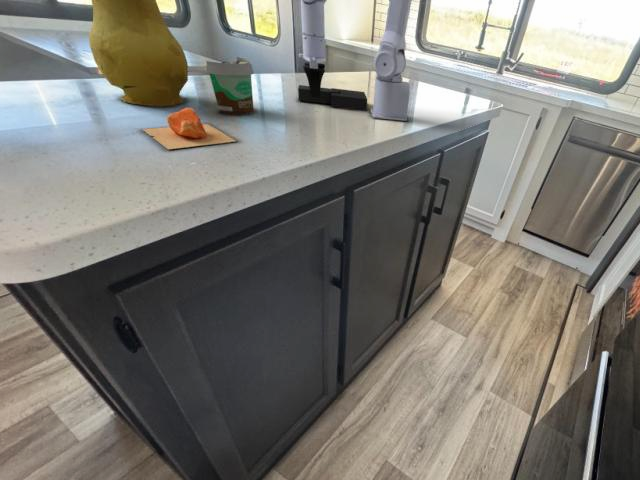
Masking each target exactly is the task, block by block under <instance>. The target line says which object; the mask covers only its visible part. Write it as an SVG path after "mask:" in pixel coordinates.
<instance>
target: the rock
mask: <svg viewBox="0 0 640 480" xmlns="http://www.w3.org/2000/svg"><path fill="white" fill-rule="evenodd" d="M166 120H167V123H168V126H166V127H154V128H142V129H141V130H142V131H143V132H144V133H146V134H147V135H149V136H150V137H152V139H154V140H155V141H156V142H157V143H159V144H160V145H162V146H163V147H165V149H167V150H174V149H175V150H177V149H184V148H190V147H191V148H192V147H201V146H208V145H209V146H210V145H217V144H226V143H232V142H236V140H235V139H233V138H232V137H231V136H229V135H227V134H225V133H223V131H220V130H218V129H217V128H215V127H214V126H212V125H211V124H208V123H202V121H201V118H200V117H199V115H198V114H197V112H196V111H195V109H194V108H192V107H184V108H183V109H180V110H179V111H175V112H171V113H170V114H168V116H167V119H166Z"/></svg>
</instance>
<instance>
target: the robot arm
mask: <svg viewBox="0 0 640 480" xmlns="http://www.w3.org/2000/svg"><path fill="white" fill-rule="evenodd" d="M326 2H327V0H300V15H301V16H300V18H301V33H302V35H301V37H302V53H298V58H300V59H304V60H306V61H307V62H304V65H303V66H302V67H303V68H302V69H303V71H304V73H305V76H306V78H307V83H308V86H309V88H310V93H311V96H312V97H317V98H319V95H320V88H322V80H323V77H324V74H325V72H326V69H325V68H326V64H325V63H324V62H326V59H327V58H326V36H325V34H326V33H325V4H326ZM411 6H412V0H389V2H388V8H387V14H386V20H385V21H386V22H385V28H384V32H383V35H382V37H381V39H380V41H379V47H378V50H377V52H376V54H375V55H374V57H373V69H374V72H375V78H374V94H373V108H370V114H371V116H372V118H373V119H384V120H390V121H391V120H392V121H403V122H407V121H408V118H407V116H408V111H409V110H408V109H409V103H410V94H411V93H410V90H411V89H410V83H409V82H408V81H403V76H402V74H403V72H404V71H405V69H406V65H407V59H406V47H407V43H406V33H407V28H408V22H409V17H410V12H411Z"/></svg>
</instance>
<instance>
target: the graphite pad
mask: <svg viewBox="0 0 640 480" xmlns="http://www.w3.org/2000/svg"><path fill="white" fill-rule="evenodd" d="M330 89H332V90H339V94H336V93H331V100H332V103H331V108H336V109H346V110H355V111H364V112H367V110H368V98H367V96H366V93H365V91H359V90H351V89H343V88H335V87H331V88H330Z"/></svg>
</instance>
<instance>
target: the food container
mask: <svg viewBox="0 0 640 480" xmlns="http://www.w3.org/2000/svg"><path fill="white" fill-rule="evenodd" d="M206 74H209V77H210V81H211V85H212V89H213V93H214V96H215V100H216V104H217V107H218V111H219V114H222V115H230V116H243V115H244V116H245V115H250V114H252V113H254V98H253V83H252V75H254V69H253V65H252V63H251V62H250V60H248V59H246V58H243V57H238V56H237V57H236V61H234V62H232V61H231V62H230V61H221V62H218V61H217V62H216V61H209V60H206Z"/></svg>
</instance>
